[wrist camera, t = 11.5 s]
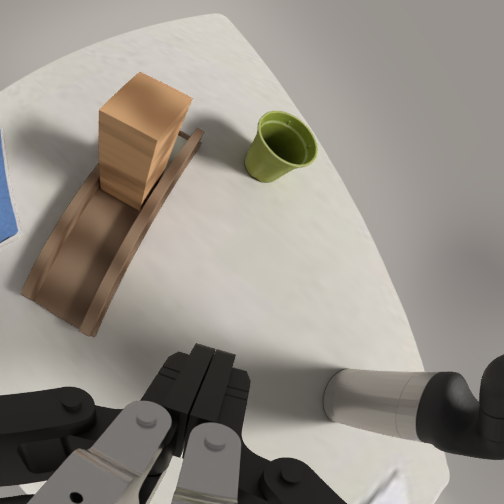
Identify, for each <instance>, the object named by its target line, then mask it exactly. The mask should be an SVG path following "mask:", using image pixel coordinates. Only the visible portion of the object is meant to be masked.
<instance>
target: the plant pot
mask: <svg viewBox="0 0 504 504" xmlns="http://www.w3.org/2000/svg"><path fill="white" fill-rule="evenodd" d="M317 152H318V148H317V143H316V140H315V137H314V136H313V134H312V132H311V131H310V129H309V128H308V127H307V126H306V125H305V124H304V123H303V122H302V121H301V120H299V119H298V118H297V117H295V116H293V115H291V114H289V113H286V112H282V111H271V112H267V113H265V114H264V115H263V116H262V117H261V118H260V120H259V122H258V130H257V135H256V137H255V139H254V141H253V143H252V145H251V147H250V149H249V151H248V152H247V154H246V157H245V167H246V169H247V171H248V173H249V174H250V175H251V176H253V177H255V178H256V179H258V180H259V181H260V182H265V183H268V182H272V181H274V180H276V179H278V178H279V177H281V176H283V175H285V174H286V173H288V172H290V171H292V170H293V169H296V168H301V167H306V166H308V165H310V164H311V163H313V162H314V160H315V159H316V157H317Z"/></svg>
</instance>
